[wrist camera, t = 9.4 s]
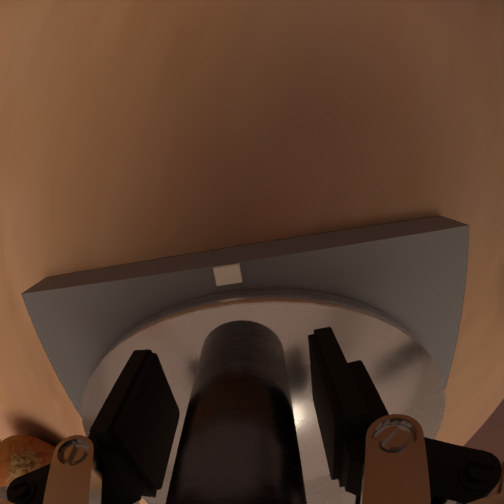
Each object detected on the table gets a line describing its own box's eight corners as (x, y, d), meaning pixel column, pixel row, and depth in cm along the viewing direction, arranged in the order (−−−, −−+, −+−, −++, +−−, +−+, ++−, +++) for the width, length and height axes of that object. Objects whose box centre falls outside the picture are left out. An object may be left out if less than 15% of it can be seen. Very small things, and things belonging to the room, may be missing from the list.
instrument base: (440, 215, 14) (471, 226, 11) (401, 464, 20) (410, 485, 17) (46, 277, 15) (19, 295, 12) (162, 492, 20) (157, 514, 18)
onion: (85, 436, 18) (41, 527, 9) (107, 489, 21) (83, 560, 11) (3, 400, 18) (-48, 465, 8) (34, 458, 21) (2, 517, 11)
